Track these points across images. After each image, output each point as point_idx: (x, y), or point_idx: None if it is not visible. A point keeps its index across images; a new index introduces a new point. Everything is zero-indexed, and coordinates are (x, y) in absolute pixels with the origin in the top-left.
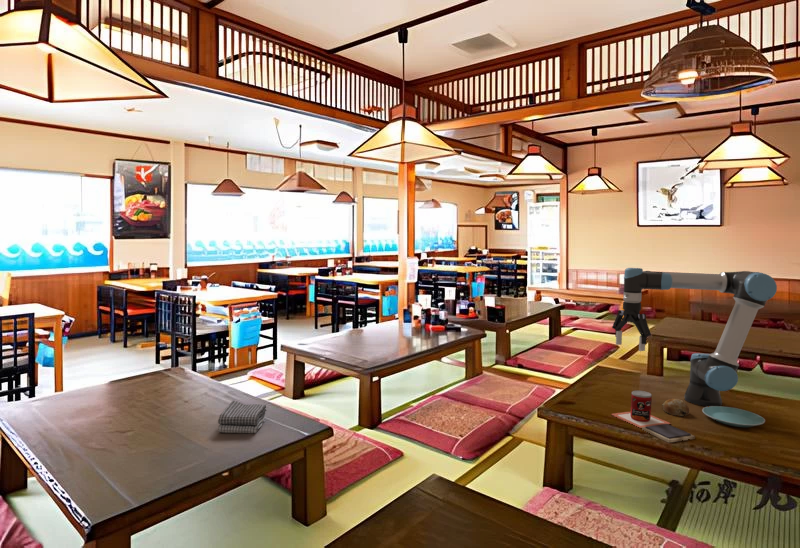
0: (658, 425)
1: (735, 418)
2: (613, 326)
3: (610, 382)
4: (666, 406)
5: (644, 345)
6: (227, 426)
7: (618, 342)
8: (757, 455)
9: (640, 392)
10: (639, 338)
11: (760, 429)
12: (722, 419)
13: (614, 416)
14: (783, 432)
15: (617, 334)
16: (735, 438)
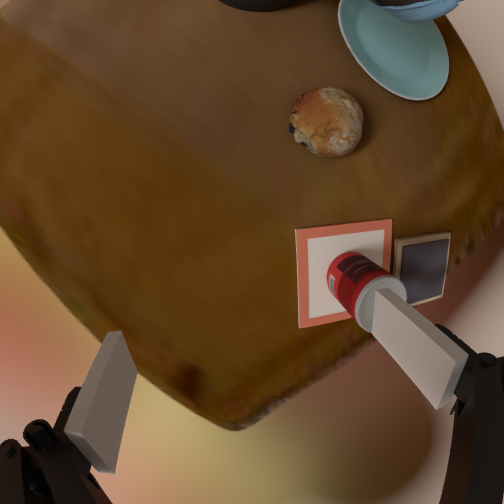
0: (404, 275)
1: (396, 33)
2: (45, 493)
3: (16, 137)
4: (331, 156)
5: (411, 314)
6: None
7: (129, 374)
8: (497, 185)
9: (369, 297)
10: (425, 395)
11: None
12: (398, 66)
13: (310, 324)
14: (446, 29)
15: (119, 444)
16: (462, 147)
